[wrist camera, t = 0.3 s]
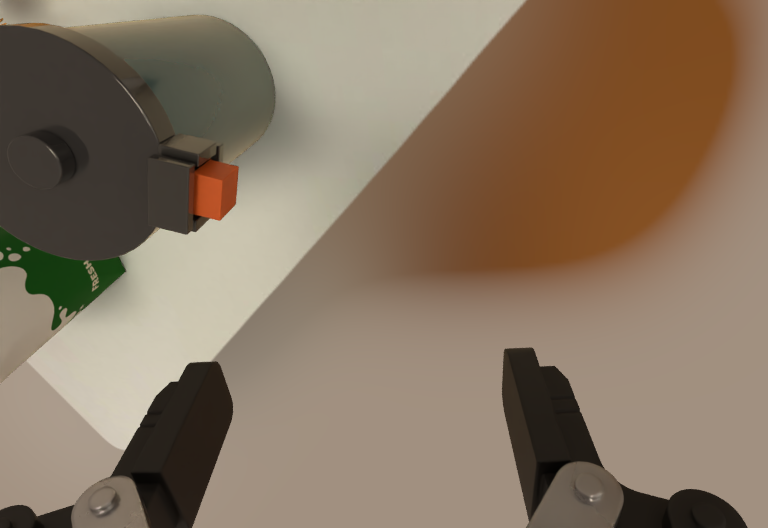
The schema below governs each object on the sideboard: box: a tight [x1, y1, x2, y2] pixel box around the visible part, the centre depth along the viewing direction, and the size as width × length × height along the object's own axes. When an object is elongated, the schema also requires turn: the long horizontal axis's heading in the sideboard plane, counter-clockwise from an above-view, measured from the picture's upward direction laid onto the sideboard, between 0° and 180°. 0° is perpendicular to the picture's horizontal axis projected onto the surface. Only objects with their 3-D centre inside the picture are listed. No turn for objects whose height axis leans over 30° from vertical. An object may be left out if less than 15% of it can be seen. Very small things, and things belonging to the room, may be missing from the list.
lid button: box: [193, 160, 239, 220], centre depth 23 cm, size 1×2×2 cm
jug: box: [0, 15, 275, 261], centre depth 29 cm, size 15×11×19 cm
